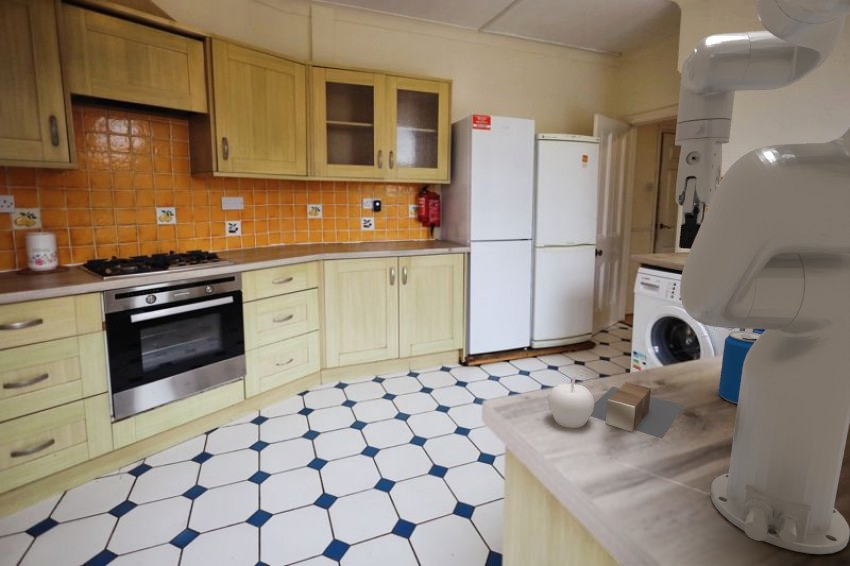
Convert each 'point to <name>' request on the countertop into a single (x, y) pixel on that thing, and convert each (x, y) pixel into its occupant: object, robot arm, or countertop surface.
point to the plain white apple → (571, 404)
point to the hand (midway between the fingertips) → (690, 248)
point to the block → (628, 406)
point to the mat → (655, 418)
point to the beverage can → (734, 363)
